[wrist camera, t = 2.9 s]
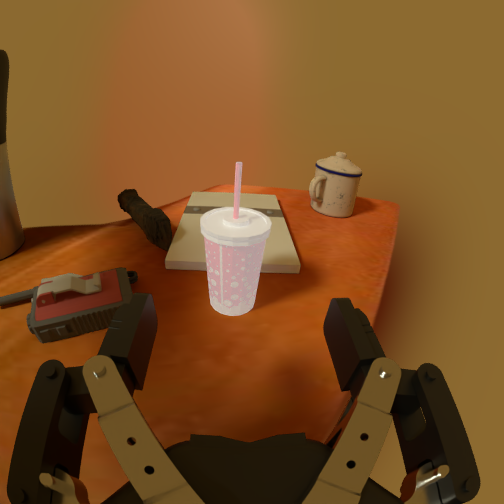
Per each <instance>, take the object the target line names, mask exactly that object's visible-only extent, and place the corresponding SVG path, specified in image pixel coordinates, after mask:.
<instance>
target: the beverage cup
mask: <svg viewBox="0 0 504 504" xmlns="http://www.w3.org/2000/svg"><path fill="white" fill-rule="evenodd" d="M241 173H242V162H236V174H235V191H234V207H222V208H217V209H213V210H211V211H208V212H206V213H205V214H204V215H203V216H202V217H201V218H200V227H201V233H202V234H203V235H204V242H205V253H206V264H207V275H208V285H209V294H210V303H211V305H212V307H213V308H214V309H215V310H216V311H218V312H219V313H221V314H225V315H229V316H235V315H242V314H244V313H247V312H248V311H249V310H250V309H252V308H253V305H254V302H255V297H256V292H257V286H258V281H259V276H260V270H261V265H262V260H263V254H264V249H265V243H266V239H267V238H268V237H269V234H270V229H271V226H272V222H271V221H270V219H269V217H268V216H266V215H265V214H263V213H262V212H259V211H256V210H253V209H250V208H243V207H239V205H240V189H241Z"/></svg>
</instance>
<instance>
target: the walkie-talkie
mask: <svg viewBox="0 0 504 504" xmlns="http://www.w3.org/2000/svg"><path fill="white" fill-rule="evenodd" d="M128 277H130V278H128ZM137 280H138V276H137V273H136V272H135V271H126V268H115V269H111V270H107V271H103V272H99V273H98V272H97V273H95V274H91V275H87V276H81V275H77V274H72V273H68V274H64V275H60V276H56V277H52V278H45V279H42V281H41V284H40V285H39V286H37V287H34V288H33V289H30V290H26V291H22V292H18V293H14V294H10V295H7V296H3V297H0V306H2V305H6V304H10V303H14V302H18V301H22V300H26V299H30V298H32V299H31V302H32V308H31V313H30V314H28V315H27V324H28V328H29V330H30V332H31V333H32V334H35V335H36V336H37V338H38V340H39V341H40V342H41V343H47V342H52V341H56V340H61V339H65V338H69V337H73V336H78V335H80V334H84V333H89V332H91V331H92V332H94V331H95V330H97V331H98V330H99V329H104V328H109V326H110V323H111V321H112V319H113V317H114V314H115V312H116V310H117V309H118V308H119V307H120V306H121V305H122V304H123V303H127V304H130V301H131V299H132V297H133V293H132V289H131V286H130V284H132V283H134V282H136V281H137Z"/></svg>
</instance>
